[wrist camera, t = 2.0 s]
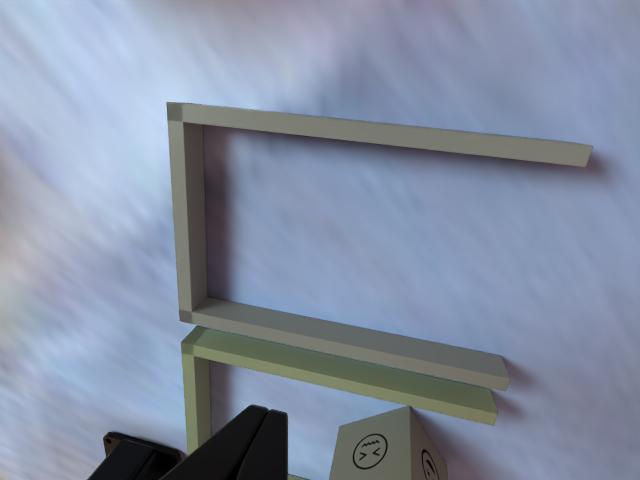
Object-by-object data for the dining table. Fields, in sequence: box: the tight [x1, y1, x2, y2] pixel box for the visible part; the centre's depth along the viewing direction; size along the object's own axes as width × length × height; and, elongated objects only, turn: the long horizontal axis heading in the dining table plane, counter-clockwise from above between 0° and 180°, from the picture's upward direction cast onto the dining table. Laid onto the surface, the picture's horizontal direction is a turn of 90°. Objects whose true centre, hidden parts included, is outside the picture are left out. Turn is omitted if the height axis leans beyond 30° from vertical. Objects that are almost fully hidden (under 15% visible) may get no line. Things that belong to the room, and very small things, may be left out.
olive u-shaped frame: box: [167, 102, 593, 391], centre depth 18 cm, size 12×18×2 cm, turn 85°
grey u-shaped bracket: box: [181, 326, 498, 480], centre depth 23 cm, size 12×18×2 cm, turn 85°
